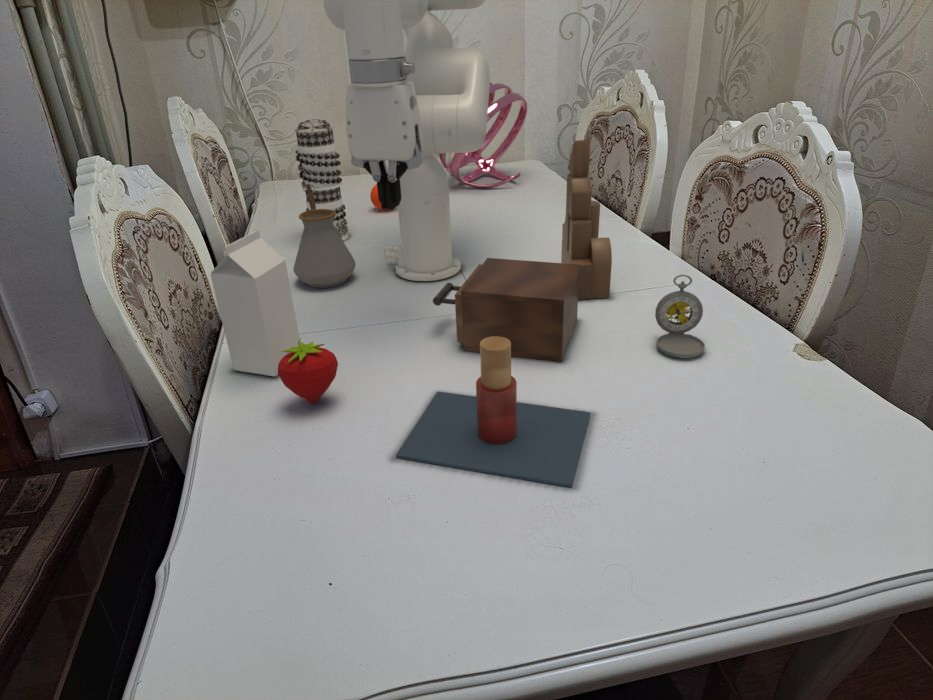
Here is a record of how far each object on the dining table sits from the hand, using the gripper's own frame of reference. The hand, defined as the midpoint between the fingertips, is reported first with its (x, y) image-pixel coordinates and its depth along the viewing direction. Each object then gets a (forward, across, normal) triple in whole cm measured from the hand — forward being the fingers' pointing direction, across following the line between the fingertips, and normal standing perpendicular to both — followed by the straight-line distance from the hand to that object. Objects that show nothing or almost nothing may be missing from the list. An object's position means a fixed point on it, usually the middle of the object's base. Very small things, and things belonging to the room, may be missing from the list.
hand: (390, 206), depth 95 cm
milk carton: (+19, +14, +17) cm, 29 cm away
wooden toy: (+19, -26, -23) cm, 40 cm away
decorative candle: (+19, +33, -37) cm, 53 cm away
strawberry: (+19, +2, +25) cm, 32 cm away
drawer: (+18, -16, 0) cm, 24 cm away
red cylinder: (+19, -23, +26) cm, 39 cm away
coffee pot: (+19, +24, -18) cm, 36 cm away
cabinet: (+19, -20, 0) cm, 28 cm away
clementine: (+19, +29, -60) cm, 69 cm away
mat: (+19, -23, +26) cm, 40 cm away
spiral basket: (+19, +13, -91) cm, 94 cm away
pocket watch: (+19, -43, -2) cm, 47 cm away
